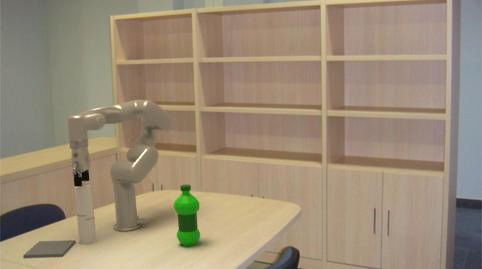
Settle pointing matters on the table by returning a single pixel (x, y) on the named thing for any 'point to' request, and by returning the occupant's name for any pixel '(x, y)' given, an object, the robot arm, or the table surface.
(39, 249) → the charcoal mat
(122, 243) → the table surface
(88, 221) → the cylindrical container
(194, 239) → the plastic bottle
